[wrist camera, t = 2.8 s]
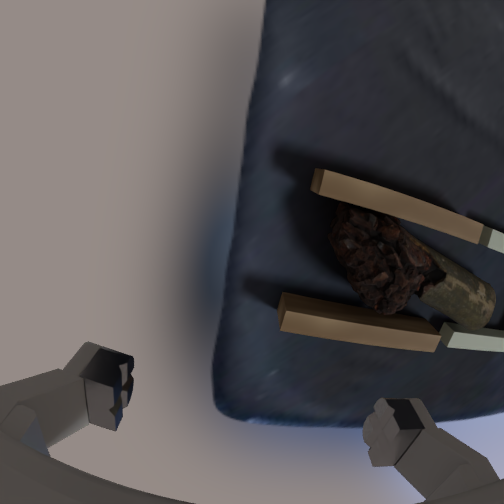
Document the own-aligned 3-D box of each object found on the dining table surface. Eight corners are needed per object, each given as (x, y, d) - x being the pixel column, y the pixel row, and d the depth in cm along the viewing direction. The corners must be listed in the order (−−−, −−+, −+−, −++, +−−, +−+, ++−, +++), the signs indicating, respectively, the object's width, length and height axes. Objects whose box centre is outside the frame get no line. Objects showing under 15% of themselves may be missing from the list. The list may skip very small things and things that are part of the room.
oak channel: (315, 168, 27) (325, 169, 24) (461, 216, 28) (483, 224, 25) (277, 310, 31) (280, 330, 28) (418, 333, 32) (433, 352, 28)
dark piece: (479, 277, 31) (512, 300, 24) (444, 333, 33) (471, 362, 27) (342, 187, 28) (366, 197, 22) (301, 262, 30) (313, 290, 24)
